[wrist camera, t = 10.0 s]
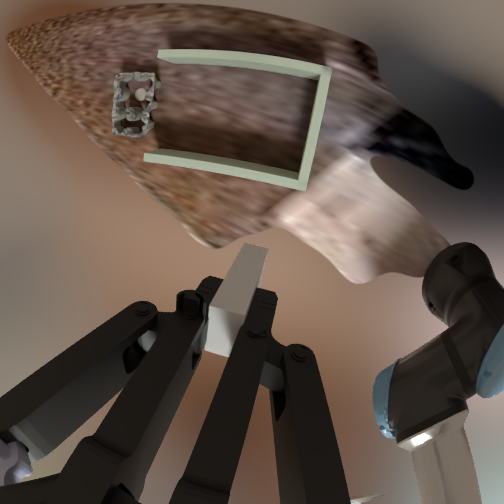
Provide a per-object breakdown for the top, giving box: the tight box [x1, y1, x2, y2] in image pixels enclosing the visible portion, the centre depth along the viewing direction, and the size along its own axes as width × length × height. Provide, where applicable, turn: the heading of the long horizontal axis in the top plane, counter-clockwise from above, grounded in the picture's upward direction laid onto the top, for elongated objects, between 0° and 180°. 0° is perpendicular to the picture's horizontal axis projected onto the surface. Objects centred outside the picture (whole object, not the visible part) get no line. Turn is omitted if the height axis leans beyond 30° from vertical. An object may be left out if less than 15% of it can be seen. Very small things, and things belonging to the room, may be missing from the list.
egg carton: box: [112, 72, 161, 137], centre depth 36 cm, size 11×8×4 cm
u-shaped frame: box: [144, 49, 332, 191], centre depth 34 cm, size 23×16×6 cm
